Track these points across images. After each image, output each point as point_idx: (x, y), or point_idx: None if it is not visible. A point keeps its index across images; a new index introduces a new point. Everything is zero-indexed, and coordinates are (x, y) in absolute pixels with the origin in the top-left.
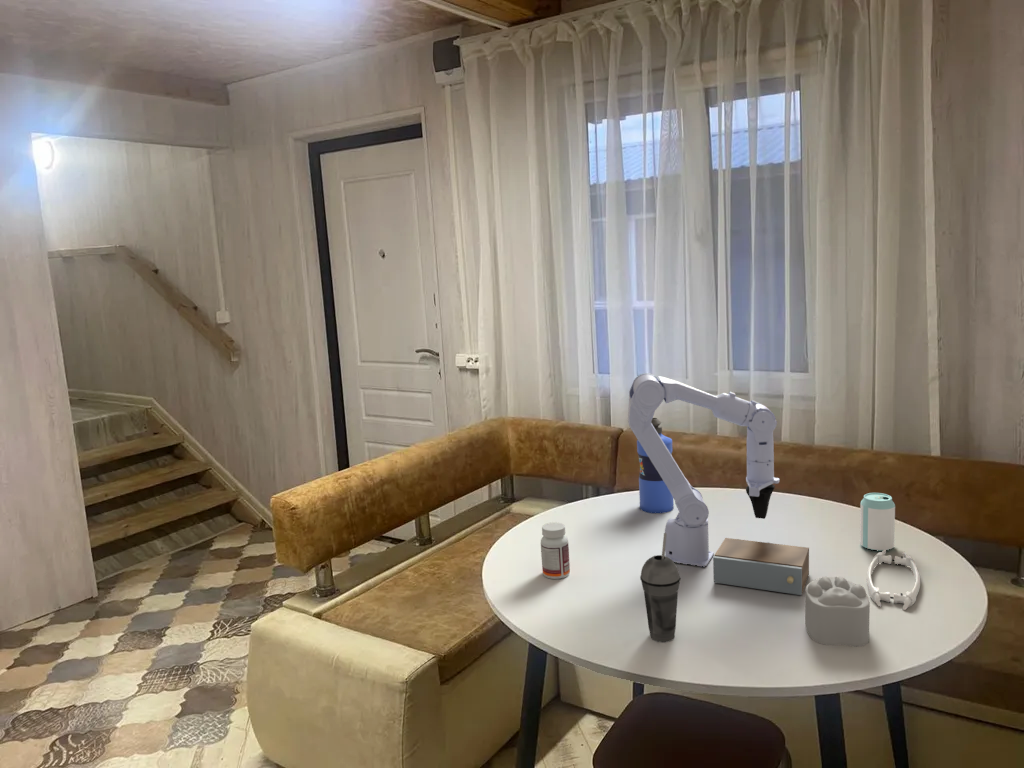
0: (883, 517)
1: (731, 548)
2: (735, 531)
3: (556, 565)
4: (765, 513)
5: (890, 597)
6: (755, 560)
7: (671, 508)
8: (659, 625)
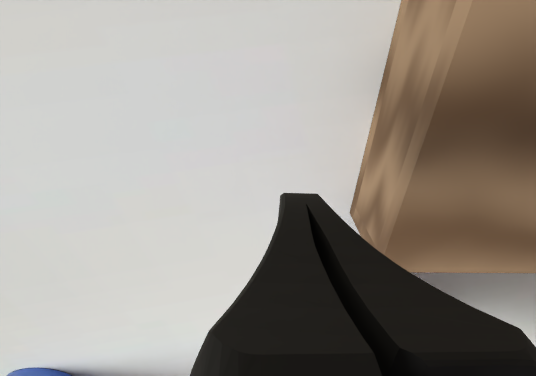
0: None
1: (485, 240)
2: (93, 229)
3: None
4: (332, 210)
5: None
6: None
7: (39, 374)
8: None
